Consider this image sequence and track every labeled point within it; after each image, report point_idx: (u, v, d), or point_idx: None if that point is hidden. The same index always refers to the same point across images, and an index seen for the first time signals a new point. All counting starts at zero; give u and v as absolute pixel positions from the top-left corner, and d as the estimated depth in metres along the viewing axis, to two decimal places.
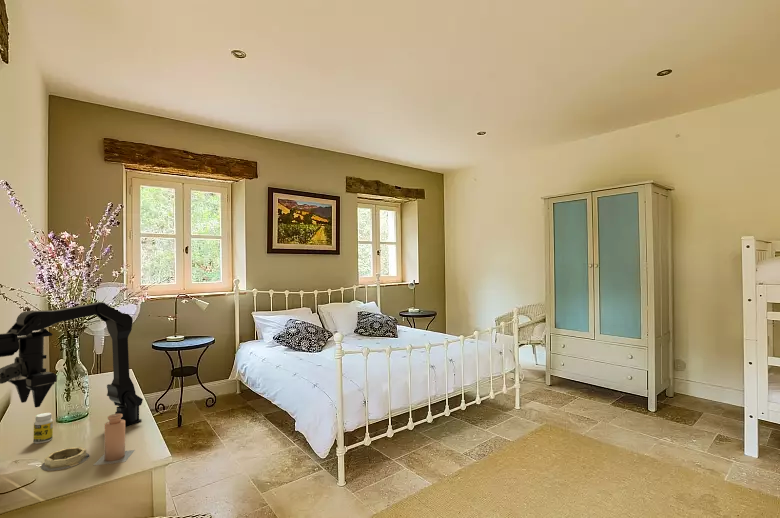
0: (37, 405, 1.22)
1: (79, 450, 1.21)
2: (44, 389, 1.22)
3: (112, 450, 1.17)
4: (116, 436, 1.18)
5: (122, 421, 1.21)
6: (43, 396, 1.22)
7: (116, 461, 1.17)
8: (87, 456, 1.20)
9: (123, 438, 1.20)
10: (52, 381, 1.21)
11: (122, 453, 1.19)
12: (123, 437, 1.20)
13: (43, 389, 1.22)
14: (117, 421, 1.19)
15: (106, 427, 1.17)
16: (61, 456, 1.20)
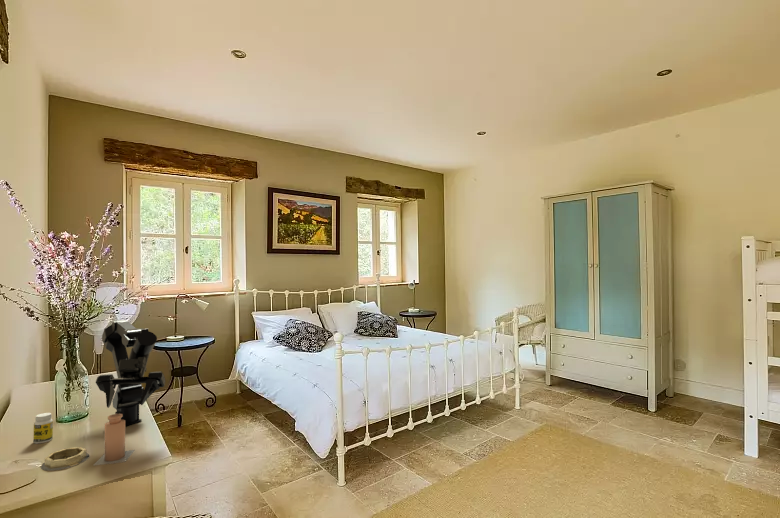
0: (142, 403, 1.29)
1: (79, 450, 1.21)
2: (150, 391, 1.33)
3: (112, 450, 1.17)
4: (116, 436, 1.18)
5: (122, 421, 1.21)
6: (148, 397, 1.32)
7: (116, 461, 1.17)
8: (87, 456, 1.20)
9: (123, 438, 1.20)
10: (164, 384, 1.36)
11: (122, 453, 1.19)
12: (123, 437, 1.20)
13: (150, 390, 1.33)
14: (117, 421, 1.19)
15: (106, 427, 1.17)
16: (61, 456, 1.20)
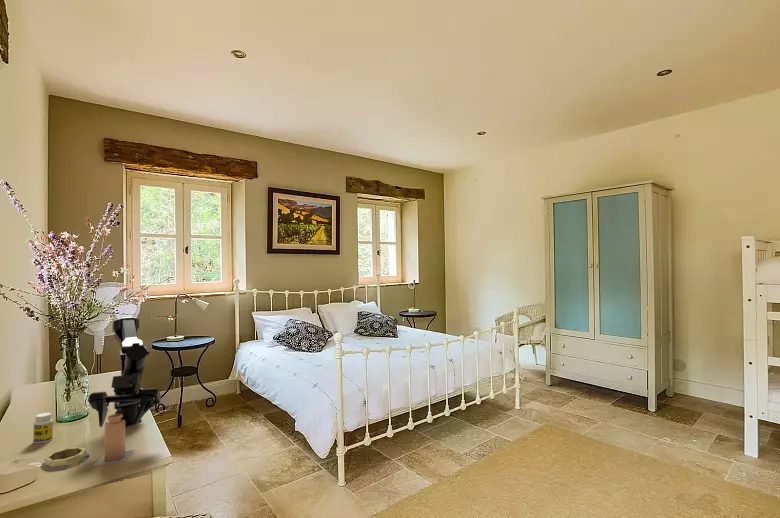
0: (136, 421, 1.23)
1: (79, 450, 1.21)
2: (145, 408, 1.28)
3: (112, 450, 1.17)
4: (116, 436, 1.18)
5: (122, 421, 1.21)
6: (142, 414, 1.26)
7: (116, 461, 1.17)
8: (87, 456, 1.20)
9: (123, 438, 1.20)
10: (159, 400, 1.31)
11: (122, 453, 1.19)
12: (123, 437, 1.20)
13: (145, 408, 1.28)
14: (117, 421, 1.19)
15: (106, 427, 1.17)
16: (61, 456, 1.20)
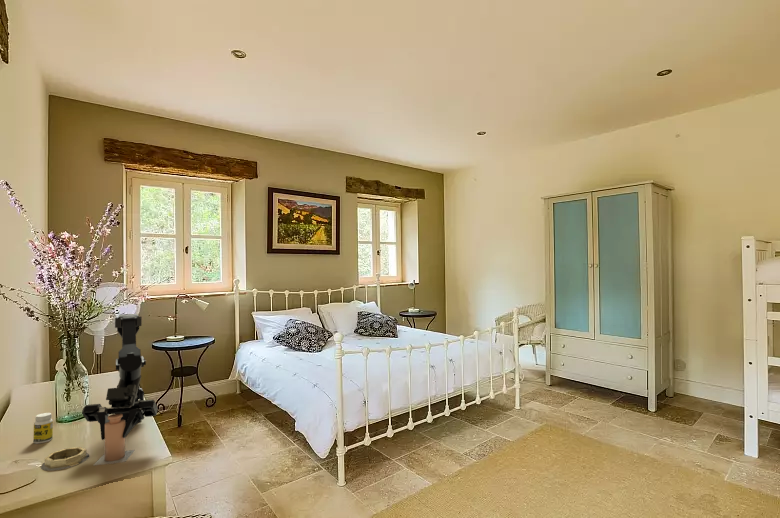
0: (124, 435, 1.19)
1: (79, 450, 1.21)
2: (134, 421, 1.24)
3: (112, 450, 1.17)
4: (116, 436, 1.18)
5: (122, 421, 1.21)
6: (131, 428, 1.22)
7: (116, 461, 1.17)
8: (87, 456, 1.20)
9: (123, 438, 1.20)
10: (156, 412, 1.27)
11: (122, 453, 1.19)
12: None
13: (134, 421, 1.24)
14: (117, 421, 1.19)
15: (106, 427, 1.17)
16: (61, 456, 1.20)
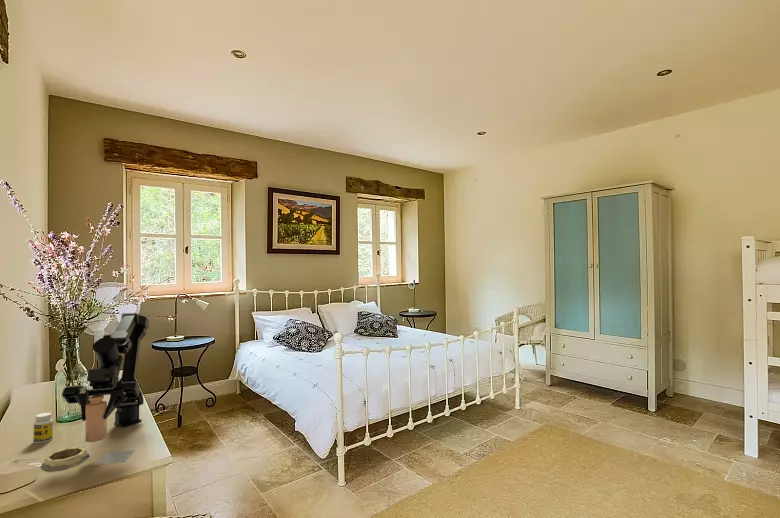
0: (105, 416, 1.19)
1: (79, 450, 1.21)
2: (116, 403, 1.23)
3: (93, 431, 1.17)
4: (97, 417, 1.17)
5: (103, 402, 1.20)
6: (112, 409, 1.22)
7: (116, 461, 1.17)
8: (87, 456, 1.20)
9: (104, 419, 1.19)
10: (138, 394, 1.27)
11: (104, 434, 1.19)
12: None
13: (115, 402, 1.23)
14: (98, 402, 1.19)
15: (87, 408, 1.17)
16: (61, 456, 1.20)
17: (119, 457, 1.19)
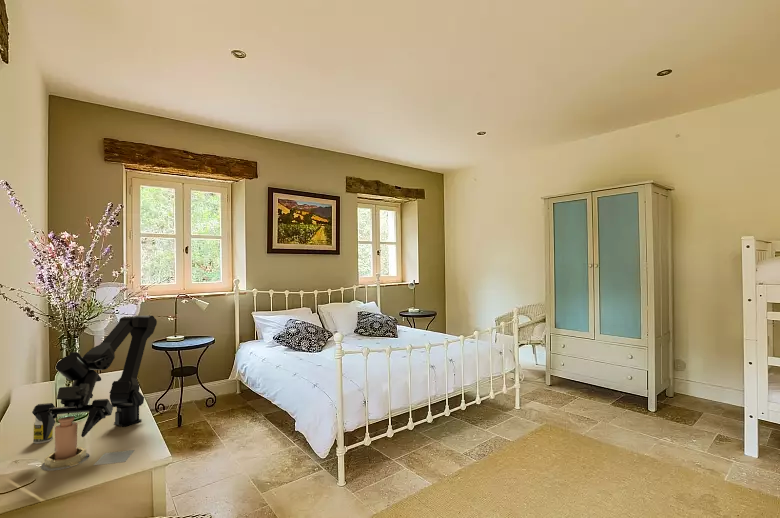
0: (83, 434, 1.18)
1: (79, 450, 1.21)
2: (95, 420, 1.22)
3: (62, 454, 1.15)
4: (67, 440, 1.16)
5: (74, 424, 1.19)
6: (91, 427, 1.21)
7: (116, 461, 1.17)
8: (87, 456, 1.20)
9: (74, 441, 1.18)
10: (110, 412, 1.25)
11: None
12: (74, 440, 1.18)
13: (94, 420, 1.22)
14: (68, 424, 1.17)
15: (56, 430, 1.15)
16: None
17: (119, 457, 1.19)
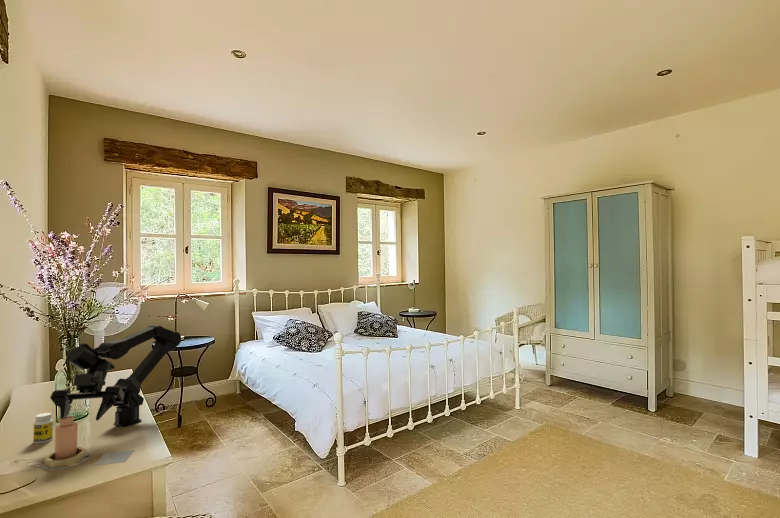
0: (97, 418, 1.27)
1: (79, 450, 1.21)
2: (108, 405, 1.31)
3: (62, 454, 1.15)
4: (67, 440, 1.16)
5: (74, 424, 1.19)
6: (104, 412, 1.30)
7: (116, 461, 1.17)
8: (87, 456, 1.20)
9: (74, 441, 1.18)
10: (122, 398, 1.34)
11: None
12: (74, 440, 1.18)
13: (107, 405, 1.31)
14: (68, 424, 1.17)
15: (56, 430, 1.16)
16: None
17: (119, 457, 1.19)
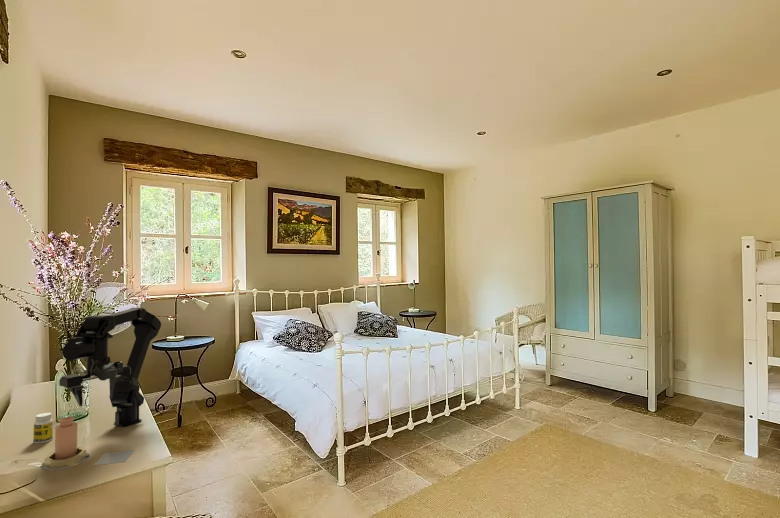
0: None
1: (79, 450, 1.21)
2: None
3: (62, 454, 1.15)
4: (67, 440, 1.16)
5: (74, 424, 1.19)
6: None
7: (116, 461, 1.17)
8: (87, 456, 1.20)
9: (74, 441, 1.18)
10: None
11: None
12: (74, 440, 1.18)
13: None
14: (68, 424, 1.17)
15: (56, 430, 1.15)
16: None
17: (119, 457, 1.19)
